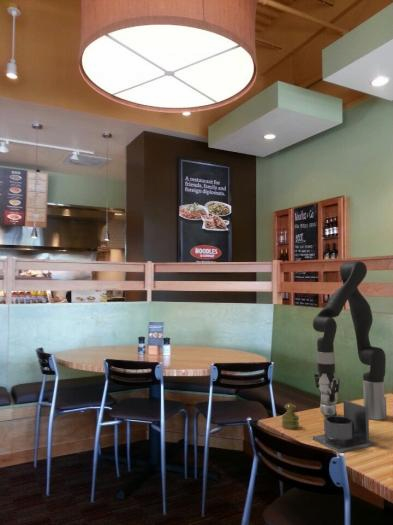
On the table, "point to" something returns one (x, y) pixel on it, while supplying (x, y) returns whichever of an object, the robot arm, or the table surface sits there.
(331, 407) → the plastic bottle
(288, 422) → the brass knob
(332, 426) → the cup bracket
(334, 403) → the character mug
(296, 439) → the table surface
